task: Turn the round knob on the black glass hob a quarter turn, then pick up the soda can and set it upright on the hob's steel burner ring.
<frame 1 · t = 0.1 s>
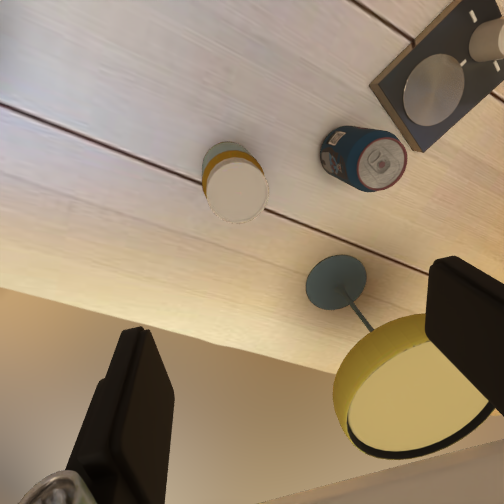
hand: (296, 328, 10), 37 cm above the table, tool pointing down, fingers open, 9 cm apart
burner ring: (432, 91, 42), resting on hob
bottle: (227, 167, 45), on the table
hob knob: (501, 38, 38), point 5 cm above the table, hinge at 0.0°
soda can: (339, 151, 46), on the table
hob: (438, 75, 43), on the table
cocktail glass: (335, 282, 55), on the table
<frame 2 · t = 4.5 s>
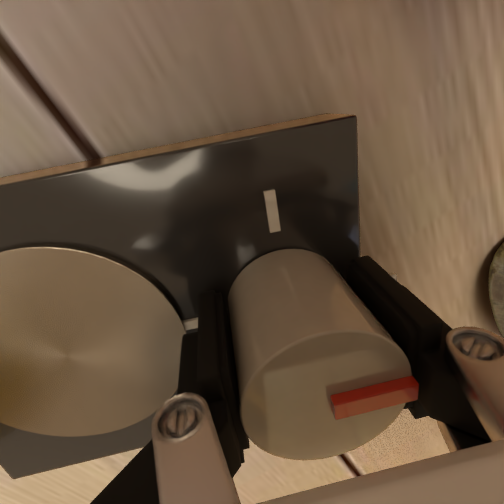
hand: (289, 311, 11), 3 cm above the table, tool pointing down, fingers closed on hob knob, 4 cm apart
burner ring: (70, 350, 11), resting on hob
hob knob: (304, 345, 10), point 5 cm above the table, hinge at 0.0°, touching gripper
hob: (161, 295, 14), on the table
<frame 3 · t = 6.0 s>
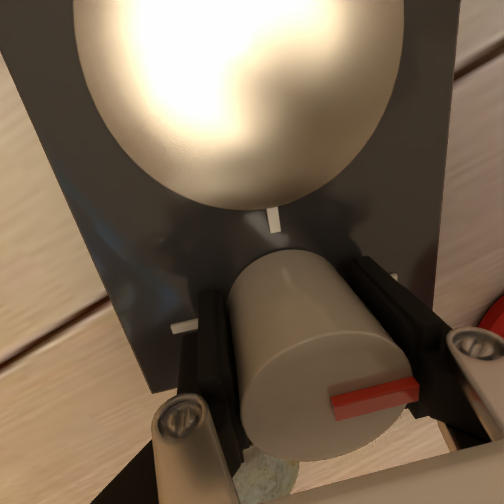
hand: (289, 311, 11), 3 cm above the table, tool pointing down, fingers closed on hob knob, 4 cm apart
burner ring: (248, 55, 8), resting on hob
hob knob: (304, 346, 10), point 5 cm above the table, hinge at 90.6°, touching gripper
hob: (253, 156, 12), on the table
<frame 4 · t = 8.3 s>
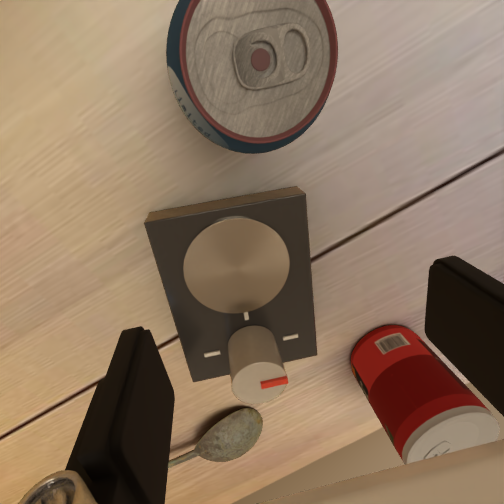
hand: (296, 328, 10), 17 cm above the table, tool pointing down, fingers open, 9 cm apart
burner ring: (237, 267, 25), resting on hob
canned food: (381, 350, 35), on the table
hob knob: (255, 364, 27), point 5 cm above the table, hinge at 90.2°
soda can: (231, 82, 22), on the table
soupspoon: (170, 446, 37), on the table
hob: (239, 283, 29), on the table
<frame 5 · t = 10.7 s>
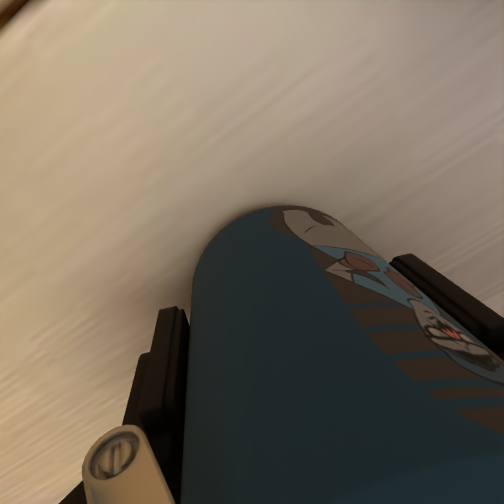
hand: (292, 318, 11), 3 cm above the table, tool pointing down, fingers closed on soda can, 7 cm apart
soda can: (272, 272, 14), on the table, touching gripper
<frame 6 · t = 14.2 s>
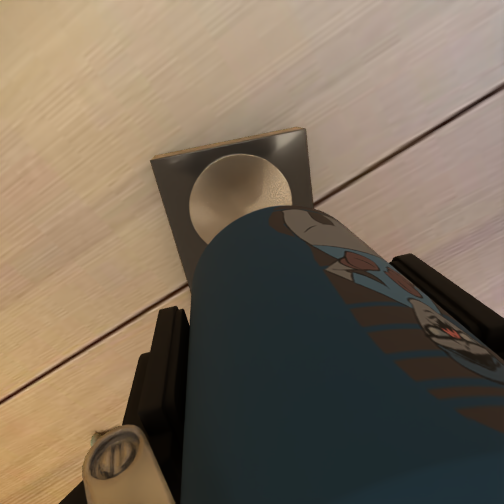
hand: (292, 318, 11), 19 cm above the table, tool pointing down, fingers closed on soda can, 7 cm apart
burner ring: (241, 207, 26), resting on hob
soda can: (272, 272, 14), point 15 cm above the table, touching gripper
hob: (244, 229, 30), on the table
when the fingers open (6 cm above the table, at t = 17.6 s): soda can stays where it is, resting on burner ring.
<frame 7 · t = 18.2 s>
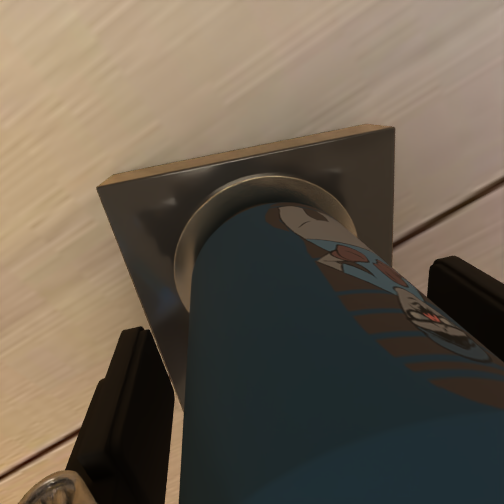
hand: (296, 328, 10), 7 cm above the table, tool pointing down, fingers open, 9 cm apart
burner ring: (268, 267, 15), resting on hob
soda can: (270, 267, 14), point 3 cm above the table, touching burner ring
hob: (268, 293, 18), on the table
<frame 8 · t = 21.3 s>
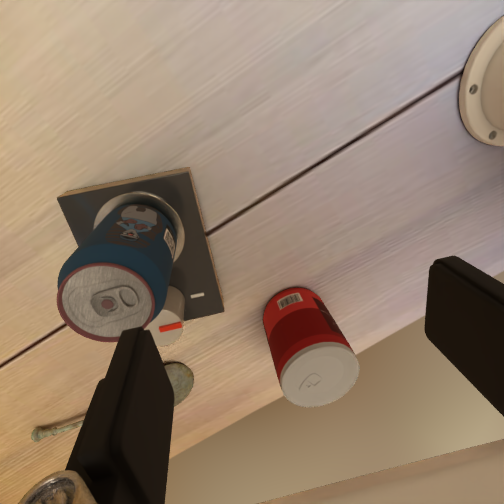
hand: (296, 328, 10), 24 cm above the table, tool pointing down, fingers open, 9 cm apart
burner ring: (140, 234, 31), resting on hob
canned food: (291, 311, 40), on the table
hob knob: (161, 315, 32), point 5 cm above the table, hinge at 90.2°
soda can: (141, 234, 31), point 3 cm above the table, touching burner ring
soupspoon: (115, 399, 42), on the table
hob: (153, 251, 34), on the table
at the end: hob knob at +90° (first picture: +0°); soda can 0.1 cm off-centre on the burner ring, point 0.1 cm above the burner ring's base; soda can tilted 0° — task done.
